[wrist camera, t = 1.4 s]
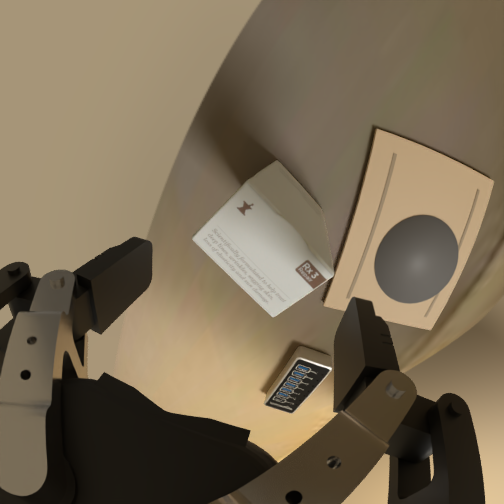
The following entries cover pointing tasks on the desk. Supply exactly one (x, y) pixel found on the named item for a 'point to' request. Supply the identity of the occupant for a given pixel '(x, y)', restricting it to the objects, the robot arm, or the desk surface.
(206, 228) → the skincare box
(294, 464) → the robot arm
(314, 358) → the multiport hub
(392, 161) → the beige flat board
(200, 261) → the desk surface
